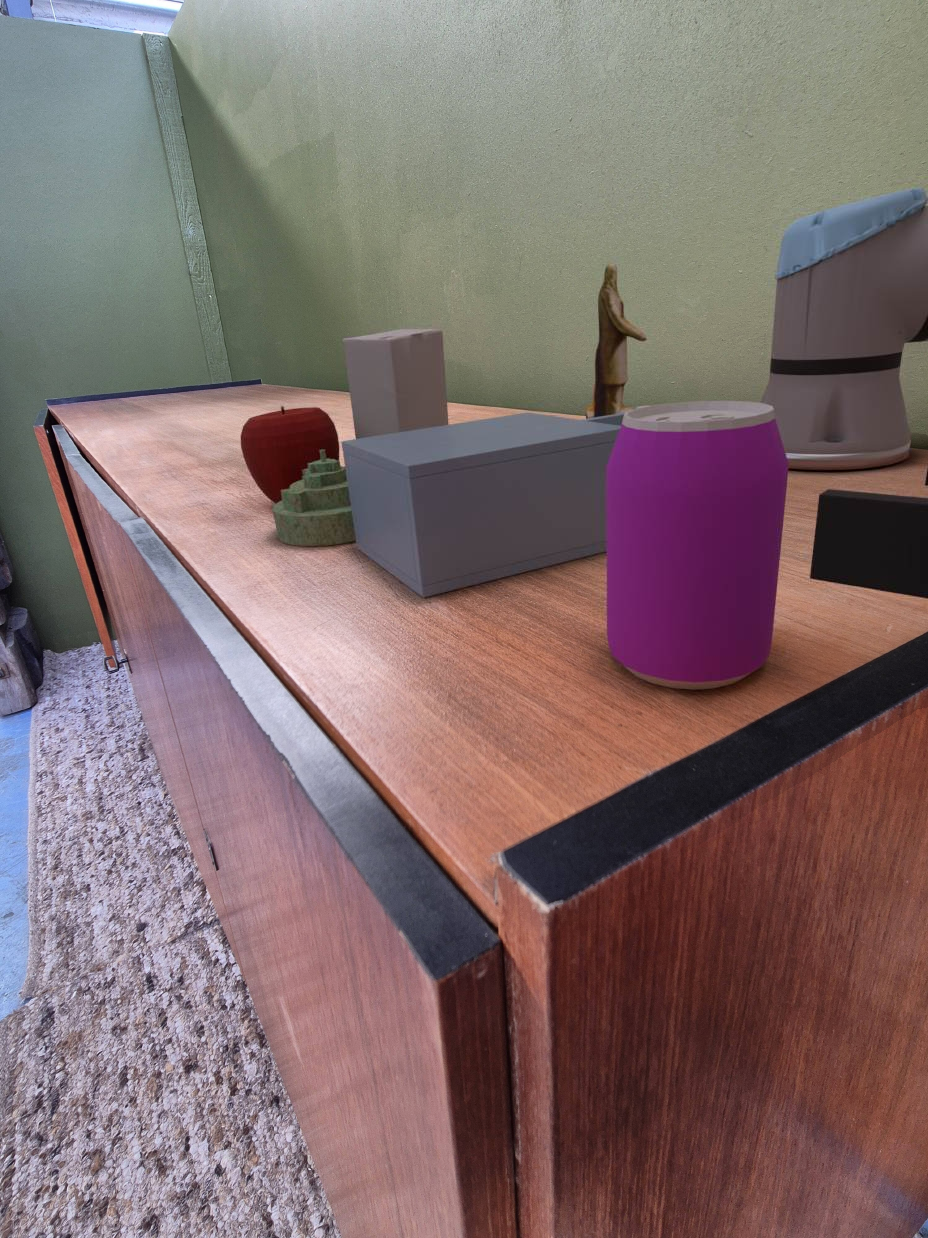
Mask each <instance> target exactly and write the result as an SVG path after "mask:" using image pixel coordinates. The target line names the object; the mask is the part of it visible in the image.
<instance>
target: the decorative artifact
mask: <svg viewBox="0 0 928 1238" xmlns="http://www.w3.org/2000/svg"><path fill="white" fill-rule="evenodd" d="M320 456H321V459H320V460H318V461H314V462H312V463H308V468H307V469H304V470H302V473H303V476H302V478H303V480H300V481H297V482H295V483H293V484H291V485H290V489H285V490H281V495H282V501H280V502H278V503H277V504H275V503H274V505H273V506H272V513H273V519H274V524H275V528H276V535H277V539H278V540H279V541H280V542H282V543H283V544H286V545H291V546H298V547H326V546H334V545H335V546H336V545H343V544H347V543H352V542H356V537H355V530H354V523H353V517H352V510H351V503H350V497H349V490H348V483H347V476H346V470H345V465H344V466H343V465H341V461H340V460H339V461H336V460H335V459H330V458H328V459H326V454H325V450H320Z"/></svg>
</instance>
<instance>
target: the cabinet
mask: <svg viewBox="0 0 928 1238" xmlns="http://www.w3.org/2000/svg"><path fill="white" fill-rule="evenodd" d="M620 428H621V426H618V425H611V424H604V423H597V422H590V421H583V419H577V418H576V419H575V418H568V417H562V416H556V415H550V414H549V415H548V414H541V413H534V412H522V413H515V414H509V415H501V416H496V417H489V418H483V419H477V420H471V421H470V420H469V421H464V422H458V423H451V424H449V425H444V426H437V427H431V428H424V429H418V430H411V431H405V432H398V433H392V434H385V435H379V436H372V437H366V438H360V439H356V438H353V439H347V440H341V442H340V443H341V450H342V455H343V463H344V466H345V470H346V476H347V483H348V490H349V497H350V503H351V510H352V517H353V523H354V530H355V537H356V541H355V542H356V543H355V544H356V549H357V550H358V551H359V552H361V553H362V554H363V555H365V556H367V557H368V558H369V559H370V560H371V561H373V562H374V563H376V564H377V565H378V566H379V567H381V568H383V569H384V570H386V571H387V572H388V573H389V574H391V575H392V576H393V577H394V578H396V579H397V580H399V582H402V583H403V585H405V586H407V587H408V588H410V589H411V590H412V591H413V592H415V593H416V594H418V595H419V596H420V597H421V598H423V599H424V598H428V597H432V596H436V595H440V594H443V593H444V594H445V593H448V592H453V591H455V590H459V589H464V588H468V587H471V586H475V585H480V584H483V583H487V582H491V581H496V580H499V579H504V578H507V577H510V576H511V577H512V576H515V575H519V574H523V573H527V572H531V571H535V570H539V569H542V568H547V567H550V566H555V565H559V564H562V563H566V562H570V561H574V560H578V559H583V558H586V557H590V556H594V555H597V554H601V553H607V526H606V467H607V464H608V461H609V458H610V456H611V453H612V450H613V447H614V445H615V442H616V439H617V436H618V433H619V431H620Z"/></svg>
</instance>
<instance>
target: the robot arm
mask: <svg viewBox="0 0 928 1238" xmlns="http://www.w3.org/2000/svg"><path fill="white" fill-rule="evenodd" d="M927 204H928V197H927V192H926V189H924V188H923V187H914V188H911V189H904V190H900V191H899V190H898V191H895V192H889V193H887V194H882V195H879V196H873V197H870V198H865V199H861V200H858V201H855V202H850V203H847V204H843V205H839V206H836V207H832V208H828V209H825V210H820V211H818V212H814V213H811V214H808V215H806V216H802V217H800V218H798V219H796V220H795V221H793V222H792V223H791V224H790V225H789V226H788V227H787V228H786V229H785V231H784V233H783V236H782V238H781V243H780V250H779V256H778V262H777V268H776V272H775V275H774V279H775V280H776V289H775V301H774V312H773V328H772V337H771V338H772V341H771V352H770V365H769V378H768V382H767V384H766V388H765V390H764V393H763V394H762V395H763V396H762V398H761V400H760V403H764V404H767V405H770V406H773V409H774V414H775V420H776V423H777V426H778V430H779V433H780V436H781V440H782V443H783V446H784V450H785V453H786V456H787V460H788V463H789V468H788V469H790V470H791V469H792V470H809V471H810V470H811V471H842V470H843V471H844V470H845V471H846V470H861V469H871V468H878V467H883V466H884V467H885V466H889V465H894V464H897V463H900V462H902V461H905V460H906V459H907V458H908V457H909V454H910V448H911V443H912V442H911V441H912V440H911V429H910V428H909V423H908V416H907V415H908V414H907V409H906V404H905V400H904V396H903V390H902V386H901V380H900V372H901V364H902V358H903V352H904V347H905V344H909V343H911V344H912V343H922V342H928V205H927ZM924 486H926V487H927V486H928V468H927V469H926V476H925V482H924ZM814 530H815V531H814V536H813V545H812V546H813V547H812V554H811V555H812V556H811V563H810V571H809V572H810V573H809V579H810V580H815V581H821V582H827V583H833V584H839V585H845V586H850V587H856V588H862V589H869V590H873V591H874V590H875V591H880V592H885V593H891V594H897V595H898V594H899V595H903V596H910V597H916V598H921V599H927V600H928V497H920V496H910V495H909V496H908V495H899V494H897V495H896V494H888V493H887V494H886V493H875V492H865V491H864V492H863V491H854V490H844V489H843V490H841V489H831V488H828V489H825V490H824V491H823V492H821V493H820V494H819V495H818V503H817V512H816V519H815V529H814Z"/></svg>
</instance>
